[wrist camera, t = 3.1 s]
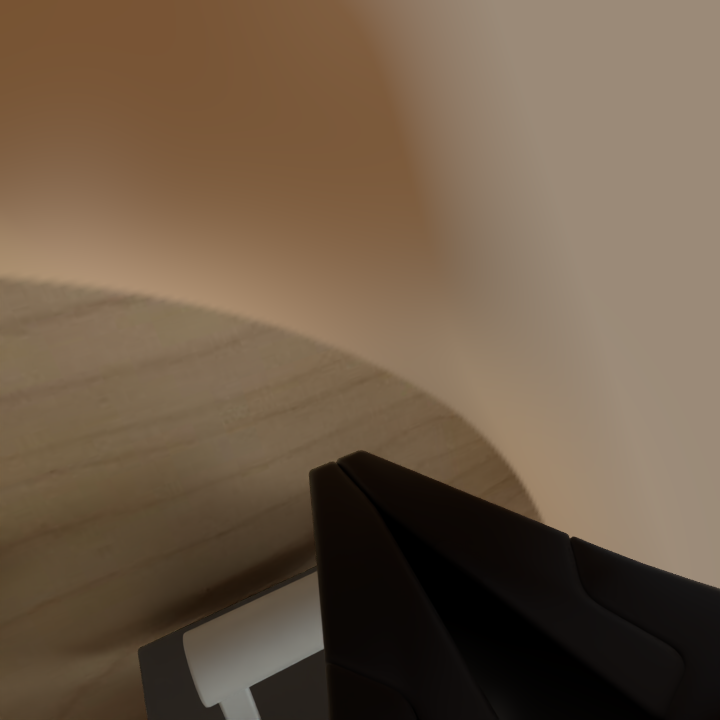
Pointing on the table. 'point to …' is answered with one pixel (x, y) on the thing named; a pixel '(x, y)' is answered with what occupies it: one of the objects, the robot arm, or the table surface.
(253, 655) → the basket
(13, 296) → the table surface
